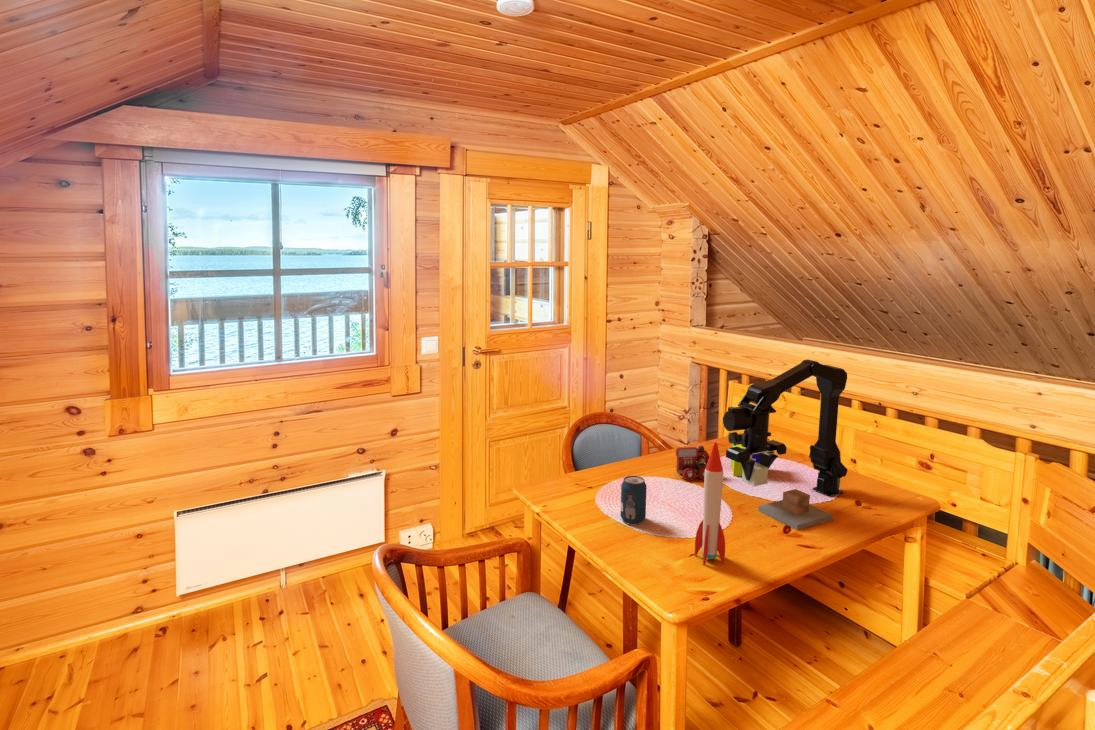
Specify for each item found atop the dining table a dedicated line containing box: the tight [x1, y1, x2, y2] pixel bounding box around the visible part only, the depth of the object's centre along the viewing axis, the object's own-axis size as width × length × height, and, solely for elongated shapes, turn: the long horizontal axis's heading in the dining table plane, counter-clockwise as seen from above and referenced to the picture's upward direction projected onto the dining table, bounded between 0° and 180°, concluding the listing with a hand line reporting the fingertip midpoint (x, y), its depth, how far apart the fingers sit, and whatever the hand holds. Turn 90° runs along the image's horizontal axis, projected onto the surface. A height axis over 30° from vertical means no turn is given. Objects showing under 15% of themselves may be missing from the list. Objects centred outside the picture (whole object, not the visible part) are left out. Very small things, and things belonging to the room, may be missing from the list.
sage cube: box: [741, 462, 769, 487], centre depth 188 cm, size 5×5×5 cm
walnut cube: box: [782, 488, 811, 515], centre depth 180 cm, size 5×5×5 cm
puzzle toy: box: [730, 443, 760, 477], centre depth 214 cm, size 10×10×10 cm
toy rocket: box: [694, 441, 726, 566], centre depth 153 cm, size 6×6×30 cm
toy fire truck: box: [675, 445, 710, 482], centre depth 210 cm, size 7×12×10 cm, turn 100°
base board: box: [758, 499, 834, 531], centre depth 181 cm, size 14×14×2 cm
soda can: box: [620, 475, 647, 525], centre depth 176 cm, size 7×7×12 cm
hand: (754, 478), depth 188 cm, fingers closed on sage cube, 5 cm apart
